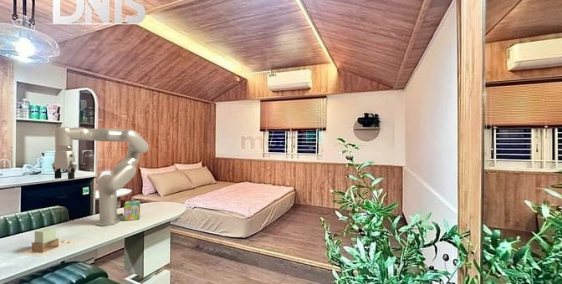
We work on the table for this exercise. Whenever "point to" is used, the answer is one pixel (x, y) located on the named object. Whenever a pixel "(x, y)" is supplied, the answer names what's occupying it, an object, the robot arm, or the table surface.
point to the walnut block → (45, 246)
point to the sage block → (45, 235)
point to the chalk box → (132, 210)
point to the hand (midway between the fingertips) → (64, 178)
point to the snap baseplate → (62, 244)
